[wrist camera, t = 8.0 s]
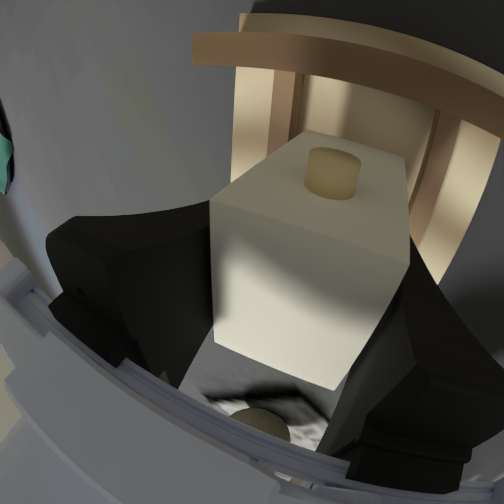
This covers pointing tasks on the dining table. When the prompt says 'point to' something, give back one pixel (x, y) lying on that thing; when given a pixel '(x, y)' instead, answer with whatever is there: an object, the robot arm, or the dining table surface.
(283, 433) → the fruit
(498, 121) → the board
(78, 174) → the dining table surface
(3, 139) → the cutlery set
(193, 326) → the robot arm
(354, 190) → the cabinet block
